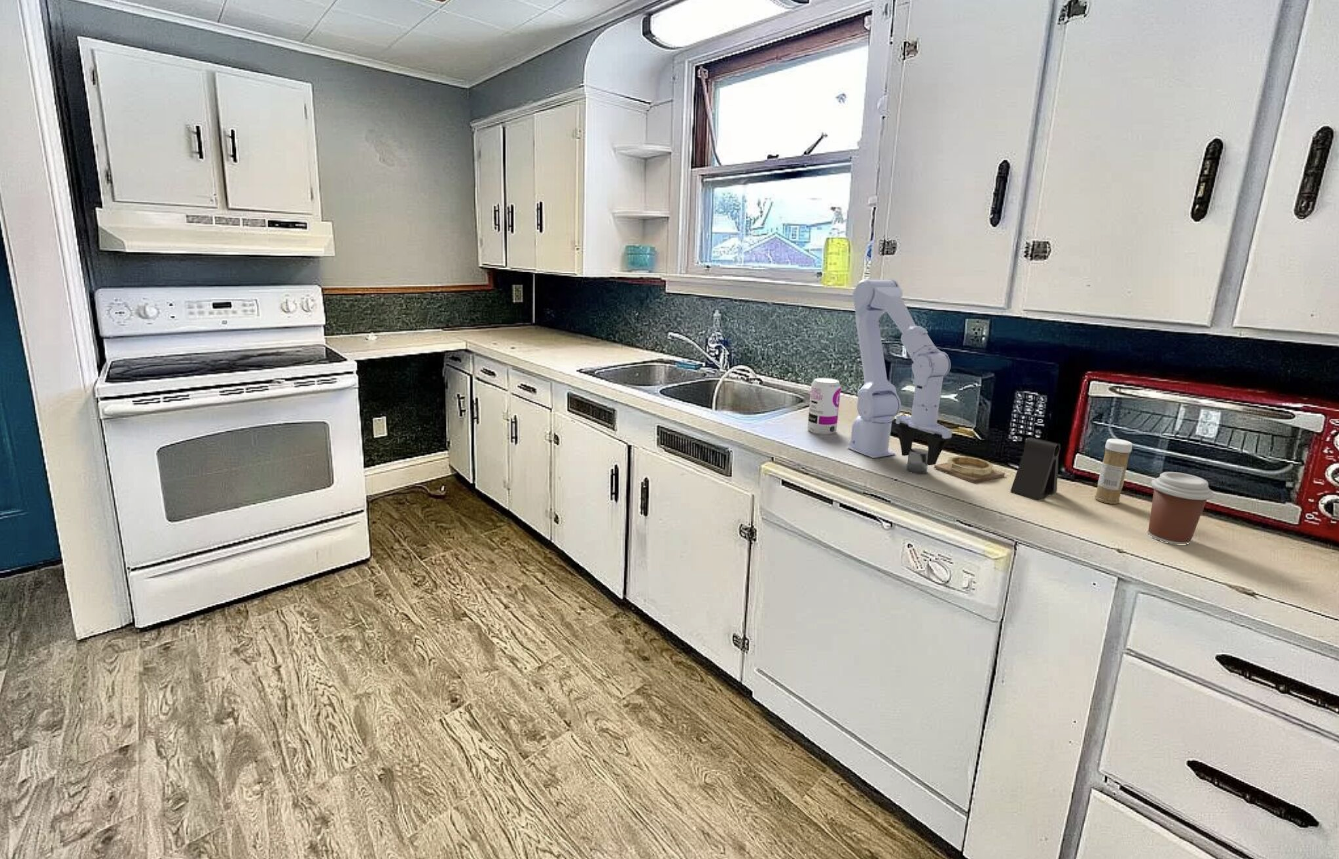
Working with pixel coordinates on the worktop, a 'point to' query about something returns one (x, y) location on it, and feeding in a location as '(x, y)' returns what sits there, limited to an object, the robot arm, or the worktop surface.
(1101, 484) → the sprinkles bottle
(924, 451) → the cylinder
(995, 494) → the worktop surface
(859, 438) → the robot arm
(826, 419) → the supplement can
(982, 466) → the ring plate
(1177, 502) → the coffee cup
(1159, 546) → the worktop surface
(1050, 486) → the phone stand
